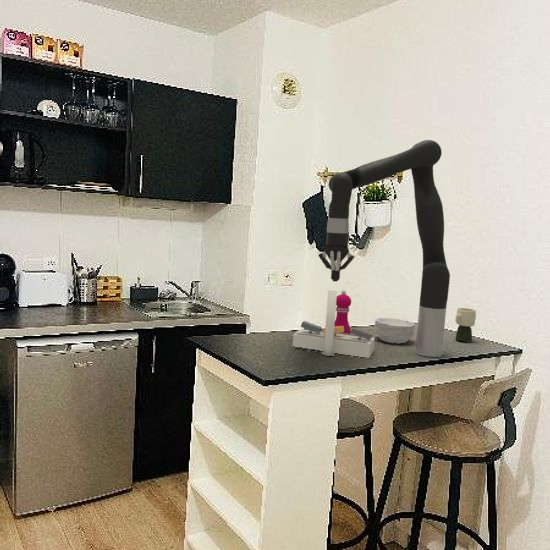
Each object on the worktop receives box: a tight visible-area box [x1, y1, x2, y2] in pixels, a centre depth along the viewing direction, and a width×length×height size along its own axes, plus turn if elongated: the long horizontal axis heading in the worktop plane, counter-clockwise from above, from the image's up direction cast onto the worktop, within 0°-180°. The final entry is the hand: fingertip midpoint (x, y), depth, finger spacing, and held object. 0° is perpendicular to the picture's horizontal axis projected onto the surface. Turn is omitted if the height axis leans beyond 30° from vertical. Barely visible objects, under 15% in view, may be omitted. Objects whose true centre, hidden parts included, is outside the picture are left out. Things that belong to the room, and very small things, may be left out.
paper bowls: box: [374, 317, 416, 345], centre depth 217 cm, size 15×15×8 cm
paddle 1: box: [300, 320, 323, 333], centre depth 200 cm, size 7×3×2 cm, turn 72°
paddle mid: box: [322, 326, 344, 334], centre depth 197 cm, size 7×3×2 cm, turn 71°
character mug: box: [455, 307, 477, 342], centre depth 224 cm, size 11×7×13 cm, turn 119°
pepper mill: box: [334, 289, 352, 334], centre depth 208 cm, size 7×7×20 cm
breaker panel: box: [292, 328, 376, 359], centre depth 198 cm, size 27×11×6 cm, turn 72°
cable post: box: [321, 290, 338, 357], centre depth 189 cm, size 4×4×22 cm
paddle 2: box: [350, 326, 373, 340], centre depth 194 cm, size 7×3×2 cm, turn 72°
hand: (335, 281), depth 195 cm, fingers closed
